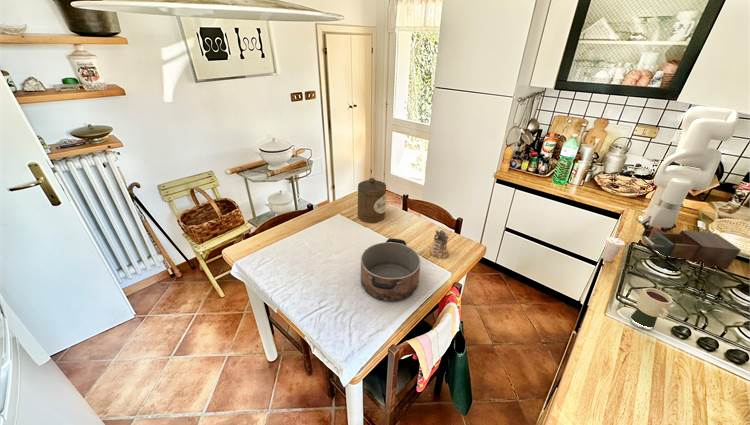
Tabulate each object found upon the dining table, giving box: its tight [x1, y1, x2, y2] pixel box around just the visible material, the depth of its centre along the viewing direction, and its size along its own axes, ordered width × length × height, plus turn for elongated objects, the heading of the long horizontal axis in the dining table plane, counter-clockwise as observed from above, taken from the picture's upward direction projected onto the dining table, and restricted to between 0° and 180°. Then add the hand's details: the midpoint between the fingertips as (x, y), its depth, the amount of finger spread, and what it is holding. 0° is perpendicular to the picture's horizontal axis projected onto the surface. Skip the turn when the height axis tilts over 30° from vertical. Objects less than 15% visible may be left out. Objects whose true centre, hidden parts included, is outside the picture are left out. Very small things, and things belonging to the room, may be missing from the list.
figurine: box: [430, 229, 449, 259], centre depth 132 cm, size 7×7×12 cm
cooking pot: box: [360, 237, 421, 302], centre depth 116 cm, size 30×22×11 cm
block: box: [649, 227, 663, 238], centre depth 148 cm, size 5×5×5 cm
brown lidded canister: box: [357, 177, 387, 224], centre depth 159 cm, size 15×15×22 cm
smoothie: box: [601, 231, 626, 263], centre depth 130 cm, size 6×6×14 cm
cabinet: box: [678, 229, 742, 270], centre depth 133 cm, size 14×13×10 cm
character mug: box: [630, 287, 673, 328], centre depth 99 cm, size 11×7×13 cm, turn 175°
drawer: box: [641, 230, 700, 261], centre depth 135 cm, size 18×12×8 cm, turn 80°
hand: (651, 237), depth 149 cm, fingers closed on block, 5 cm apart
